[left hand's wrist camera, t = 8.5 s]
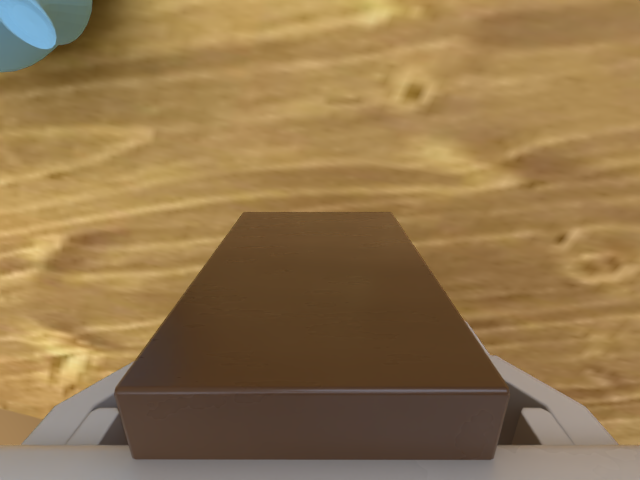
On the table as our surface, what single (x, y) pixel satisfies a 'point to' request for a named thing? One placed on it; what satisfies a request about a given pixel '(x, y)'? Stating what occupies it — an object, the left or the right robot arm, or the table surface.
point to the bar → (313, 353)
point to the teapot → (38, 29)
